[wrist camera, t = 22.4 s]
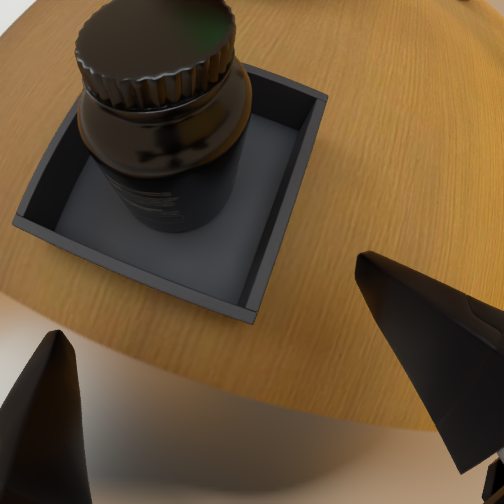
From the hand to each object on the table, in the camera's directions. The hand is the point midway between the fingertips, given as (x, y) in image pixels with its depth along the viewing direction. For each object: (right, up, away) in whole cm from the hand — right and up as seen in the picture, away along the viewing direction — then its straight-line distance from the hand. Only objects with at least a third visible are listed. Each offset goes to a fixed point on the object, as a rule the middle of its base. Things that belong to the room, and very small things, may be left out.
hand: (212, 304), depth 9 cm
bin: (-4, +6, +10) cm, 13 cm away
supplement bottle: (-3, +6, +10) cm, 12 cm away
